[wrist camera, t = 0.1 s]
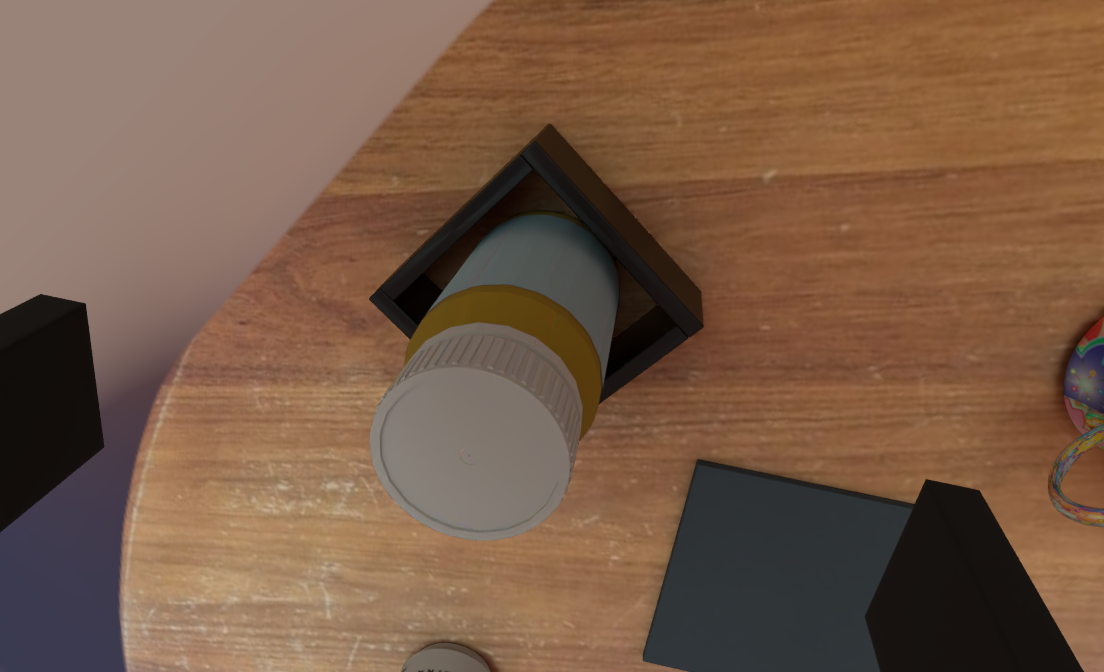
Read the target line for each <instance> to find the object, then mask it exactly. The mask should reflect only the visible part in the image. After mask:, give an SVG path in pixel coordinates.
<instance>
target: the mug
mask: <svg viewBox="0 0 1104 672" xmlns="http://www.w3.org/2000/svg"><path fill="white" fill-rule="evenodd" d="M1064 400H1065V404H1066V408H1067V411H1068V413H1069V416H1070V418H1071V420H1072V421H1073V423H1074V425H1075V426H1076V428H1077V429H1078V430H1079V431H1080V432H1081V433H1082V434H1083V435H1081V436H1080V437H1078V438H1077V439H1075V440H1074V441H1073V442H1072V443H1070V444H1069V445H1068V446H1067V447H1066V448H1065V449H1064V450H1063V451H1062V452H1061V453H1060V455H1059V456H1058V457H1057V459H1056V460H1055V462H1054V464H1053V466H1052V468H1051V470H1050V474H1049V479H1048V492H1049V496H1050V500H1051V502H1052V504H1053V506H1054V507H1055V508H1056V509H1057V511H1059V512H1060V513H1061V514H1062V515H1063V516H1065V517H1067V518H1068V519H1071V520H1073V521H1075V522H1078V523H1082V524H1086V525H1090V526H1098V527H1104V508H1094V507H1088V506H1083V505H1080V504H1077V503H1075V502H1072V501H1071V500H1069V499H1067V498H1066V497H1065V496H1064V495H1063V493H1062V492H1061V483H1062V480H1063V477H1064V475H1065V474H1066V472H1067V470H1068V469H1069V468H1070V466H1071V465H1072V464H1073V463H1074V462H1075V461H1076V460H1077V459H1078V458H1079V457H1081V456H1082V455H1083V454H1085V453H1086V452H1088V451H1089V450H1091V449H1093V448H1094V447H1096V446H1098V447H1100V448H1102V449H1104V317H1102V318H1101V319H1100V320H1099V321H1098V322H1097V323H1096V324H1095V325H1094V326H1093V327H1092V328H1091V329H1090V330H1089V331H1088V332H1087V333H1086V334H1085V335H1084V337H1083V338H1082V339H1081V341H1080V342H1079V344H1078V345H1077V347H1076V348H1075V350H1074V352H1073V354H1072V356H1071V358H1070V360H1069V363H1068V366H1067V369H1066V373H1065V377H1064Z"/></svg>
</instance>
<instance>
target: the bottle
mask: <svg viewBox="0 0 1104 672" xmlns="http://www.w3.org/2000/svg"><path fill="white" fill-rule="evenodd" d="M618 302H619V274H618V269H617V266H616V264H615V261H614V259H613V256H612V254H611V252H610V251H609V250H608V249H607V248H606V247H605V246H604V245H603V244H602V242H601V241H600V240H599V239H598V238H597V237H596V236H595V235H594V234H593V233H592V232H591V230H590V229H589V228H588V227H587V226H586V225H584V224H583V223H581V222H579V221H578V220H576V219H574V218H572V217H570V216H566V215H562V214H558V213H554V212H548V211H539V212H526V213H521V214H519V215H516V216H514V217H511V218H508V219H506V220H504V221H502V222H501V223H499V224H498V225H497V226H496V227H495V228H493V229H492V230H491V231H490V232H489V233H487V235H486V236H485V237H484V238H483V239H482V240H481V241H480V243H479V244H478V245H477V247H476V248H475V249H474V251H473V252H472V253H471V255H470V256H469V257H468V259H467V260H466V261H465V263H464V264H463V265H462V267H461V268H460V269H459V271H458V272H457V273H456V275H455V276H454V277H453V279H452V280H451V281H450V283H449V284H448V285H447V287H446V288H445V289H444V291H443V292H442V293H441V295H440V296H439V297H438V299H437V300H436V301H435V303H434V304H433V305H432V307H431V308H430V309H429V311H428V312H427V313H426V315H425V316H424V318H423V319H422V321H421V323H420V324H419V326H418V328H417V329H416V331H415V333H414V335H413V336H412V338H411V340H410V342H409V344H408V347H407V352H406V358H405V364H404V368H403V369H402V370H401V372H400V373H399V374H398V376H397V377H396V379H395V380H394V382H393V383H392V384H391V386H390V387H389V389H388V390H387V391H386V393H385V394H384V396H383V397H382V399H381V402H380V403H379V404H378V406H377V408H376V410H377V411H376V412H375V414H374V416H373V422H372V425H371V431H370V452H371V458H372V462H373V465H374V468H375V471H376V473H377V476H378V478H379V480H380V481H381V483H382V485H383V487H384V488H385V490H386V491H387V493H388V494H389V495H390V496H391V498H392V499H393V500H394V501H395V502H396V503H397V504H398V505H399V506H400V507H401V508H402V509H403V510H404V511H405V512H407V513H408V514H409V515H410V516H412V517H413V518H414V519H416V520H417V521H419V522H421V523H422V524H424V525H426V526H428V527H430V528H432V529H434V530H436V531H438V532H441V533H444V534H447V535H450V536H453V537H457V538H462V539H468V540H480V541H487V540H499V539H505V538H510V537H513V536H517V535H519V534H522V533H524V532H527V531H529V530H531V529H532V528H534V527H536V526H537V525H539V524H540V523H542V522H543V521H544V520H545V519H546V518H547V517H549V515H550V514H551V513H552V512H553V511H554V510H555V509H556V508H557V506H558V504H559V503H560V502H561V501H562V499H563V495H564V494H566V492H567V488H568V485H569V484H570V481H571V476H572V472H573V467H574V463H575V458H576V453H577V449H578V444H579V441H580V440H581V439H582V437H583V436H584V435H585V433H586V432H587V431H588V429H589V428H590V427H591V425H592V423H593V421H594V418H595V414H596V411H597V408H598V404H599V401H600V397H601V394H602V389H603V384H604V378H605V373H606V368H607V362H608V357H609V351H610V346H611V340H612V335H613V329H614V324H615V319H616V313H617V308H618Z"/></svg>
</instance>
